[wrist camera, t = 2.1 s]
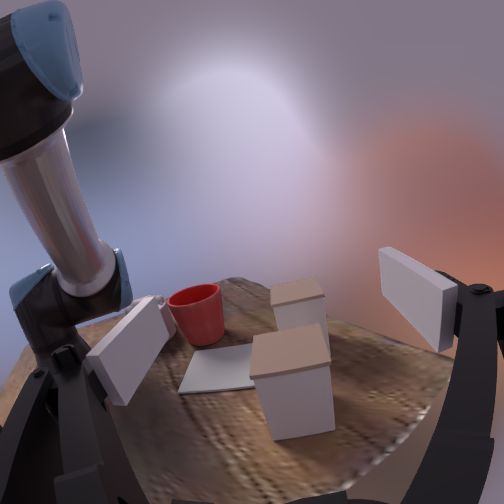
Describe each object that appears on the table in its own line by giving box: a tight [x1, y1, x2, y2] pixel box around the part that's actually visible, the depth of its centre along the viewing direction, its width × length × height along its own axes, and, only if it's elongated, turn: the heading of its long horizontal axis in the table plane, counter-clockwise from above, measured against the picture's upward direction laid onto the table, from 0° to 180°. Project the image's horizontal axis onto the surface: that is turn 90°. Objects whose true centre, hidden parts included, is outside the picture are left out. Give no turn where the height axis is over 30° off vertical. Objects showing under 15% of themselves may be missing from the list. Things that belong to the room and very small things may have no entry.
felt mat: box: [178, 343, 255, 394], centre depth 42 cm, size 12×12×1 cm
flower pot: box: [167, 284, 225, 346], centre depth 54 cm, size 11×11×10 cm
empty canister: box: [271, 277, 331, 355], centre depth 42 cm, size 7×7×10 cm
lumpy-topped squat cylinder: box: [125, 295, 176, 342], centre depth 59 cm, size 10×13×9 cm
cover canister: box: [249, 323, 335, 441], centre depth 27 cm, size 7×7×10 cm
